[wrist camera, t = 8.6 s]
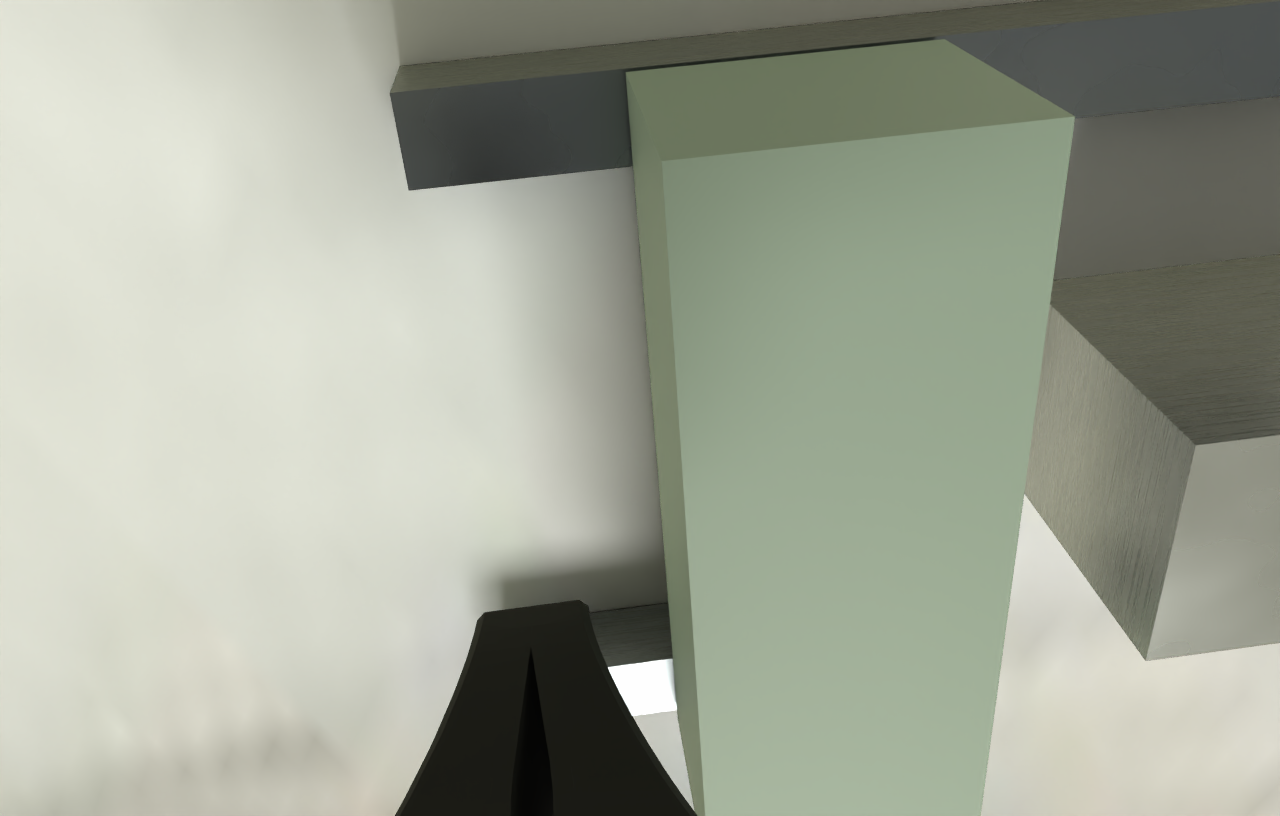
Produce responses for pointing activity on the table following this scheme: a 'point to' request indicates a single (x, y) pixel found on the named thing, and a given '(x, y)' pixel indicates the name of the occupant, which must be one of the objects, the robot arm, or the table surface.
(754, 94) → the block
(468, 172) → the vise frame
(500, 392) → the table surface
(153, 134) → the table surface
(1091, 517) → the steel block
